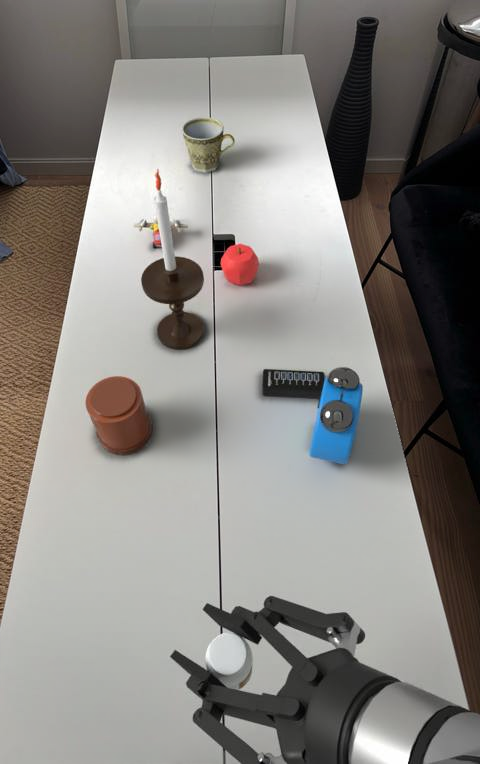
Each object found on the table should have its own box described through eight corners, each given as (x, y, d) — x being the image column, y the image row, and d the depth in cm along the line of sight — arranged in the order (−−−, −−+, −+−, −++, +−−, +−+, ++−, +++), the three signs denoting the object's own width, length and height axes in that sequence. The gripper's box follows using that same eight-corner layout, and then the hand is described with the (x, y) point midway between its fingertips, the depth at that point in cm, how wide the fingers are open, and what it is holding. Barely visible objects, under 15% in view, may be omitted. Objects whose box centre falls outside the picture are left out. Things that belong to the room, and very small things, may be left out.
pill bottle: (253, 692, 53) (253, 680, 47) (208, 692, 53) (202, 681, 47) (252, 643, 56) (252, 626, 50) (209, 643, 56) (203, 626, 50)
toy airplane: (158, 256, 120) (154, 232, 115) (134, 236, 124) (129, 212, 119) (190, 237, 123) (188, 213, 118) (166, 218, 127) (162, 194, 122)
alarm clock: (342, 479, 88) (357, 432, 76) (304, 470, 89) (313, 422, 77) (353, 412, 95) (369, 360, 83) (318, 405, 96) (328, 352, 84)
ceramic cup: (179, 173, 138) (175, 135, 130) (194, 151, 143) (191, 114, 135) (228, 182, 135) (227, 144, 127) (241, 160, 141) (240, 122, 133)
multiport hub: (323, 399, 97) (324, 391, 95) (261, 395, 98) (262, 388, 96) (323, 379, 100) (324, 371, 98) (263, 376, 100) (263, 368, 99)
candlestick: (166, 306, 111) (138, 144, 83) (216, 318, 109) (205, 157, 80) (143, 345, 105) (104, 186, 77) (196, 359, 103) (175, 201, 74)
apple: (258, 290, 113) (259, 261, 107) (220, 290, 113) (218, 261, 107) (259, 264, 118) (259, 234, 111) (222, 264, 118) (220, 234, 111)
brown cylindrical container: (127, 465, 90) (115, 432, 82) (86, 437, 93) (69, 403, 85) (163, 424, 95) (155, 389, 86) (123, 399, 98) (111, 363, 89)
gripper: (353, 927, 31) (165, 745, 50) (465, 651, 40) (268, 584, 59) (278, 870, 29) (111, 701, 48) (414, 588, 37) (226, 540, 56)
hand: (197, 637), depth 53 cm, fingers closed on pill bottle, 4 cm apart
